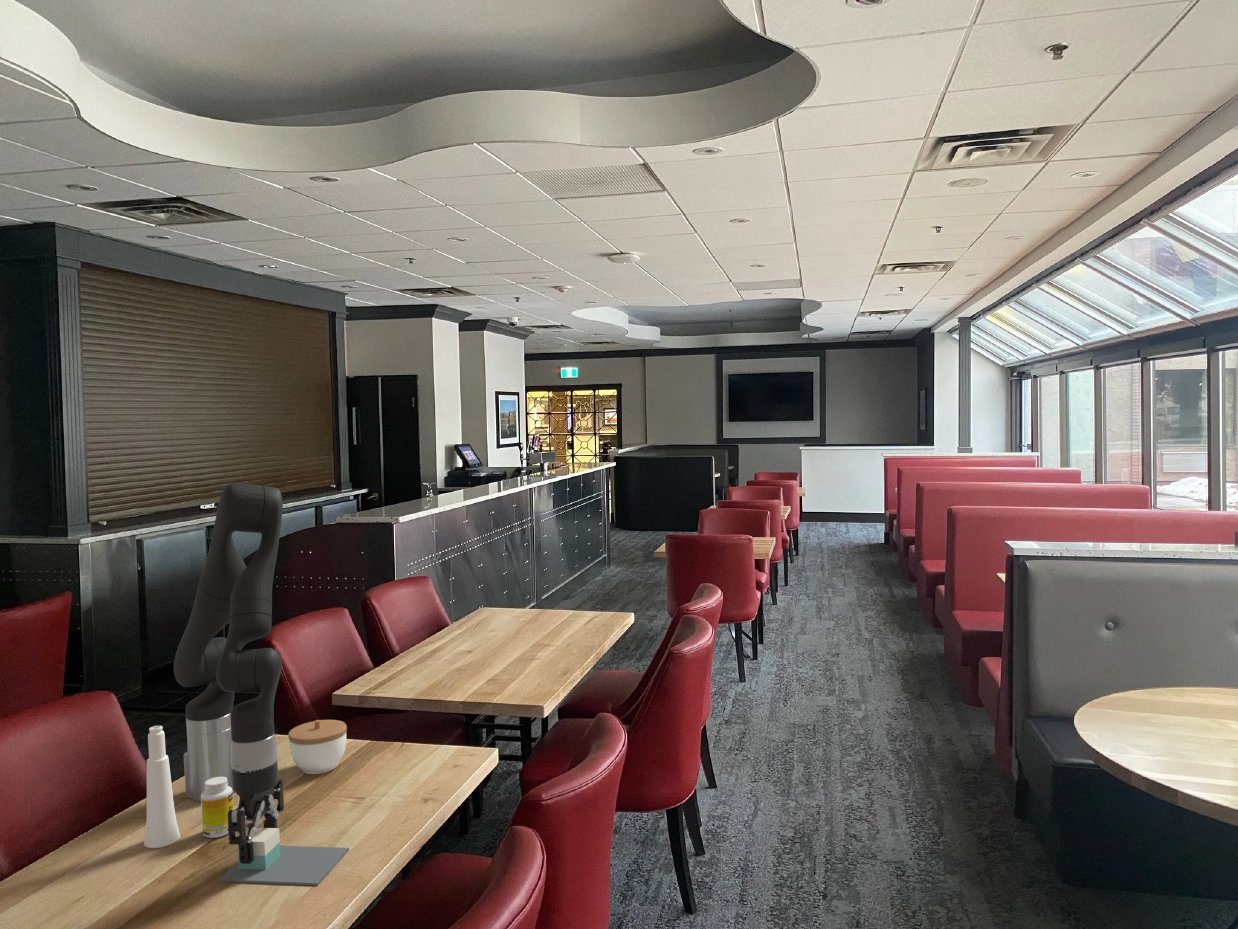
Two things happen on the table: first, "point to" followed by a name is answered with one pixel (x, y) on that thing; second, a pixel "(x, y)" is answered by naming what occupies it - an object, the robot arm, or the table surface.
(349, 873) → the table surface
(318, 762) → the lidded bowl
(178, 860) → the table surface
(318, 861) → the slate rubber mat
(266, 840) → the two-tone cube
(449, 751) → the table surface
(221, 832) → the supplement bottle
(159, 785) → the cosmetic bottle
